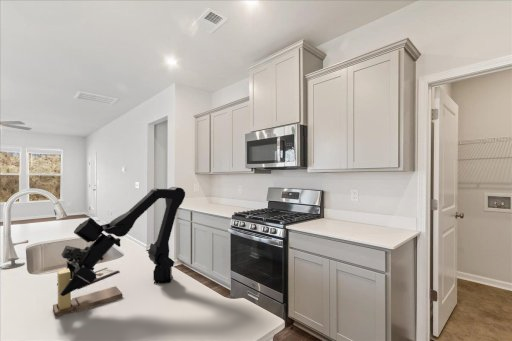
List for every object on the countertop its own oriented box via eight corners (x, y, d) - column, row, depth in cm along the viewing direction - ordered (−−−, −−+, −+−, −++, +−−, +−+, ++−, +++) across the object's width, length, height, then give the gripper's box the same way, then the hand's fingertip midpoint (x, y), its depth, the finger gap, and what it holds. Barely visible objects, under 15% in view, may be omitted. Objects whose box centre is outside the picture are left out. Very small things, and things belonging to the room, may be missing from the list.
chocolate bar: (64, 283, 106) (106, 267, 123) (64, 285, 106) (106, 269, 123) (78, 287, 103) (119, 271, 119) (78, 290, 103) (119, 273, 119)
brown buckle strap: (116, 289, 102) (115, 285, 102) (122, 297, 96) (122, 292, 96) (52, 308, 88) (52, 303, 88) (55, 318, 83) (55, 313, 83)
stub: (68, 306, 90) (68, 268, 90) (70, 310, 87) (70, 271, 87) (57, 309, 88) (57, 270, 88) (59, 314, 85) (59, 274, 85)
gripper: (74, 231, 97) (35, 269, 89) (84, 242, 83) (39, 288, 76) (98, 248, 102) (63, 285, 95) (112, 261, 88) (72, 305, 81)
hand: (59, 290), depth 86 cm, fingers open, 9 cm apart
